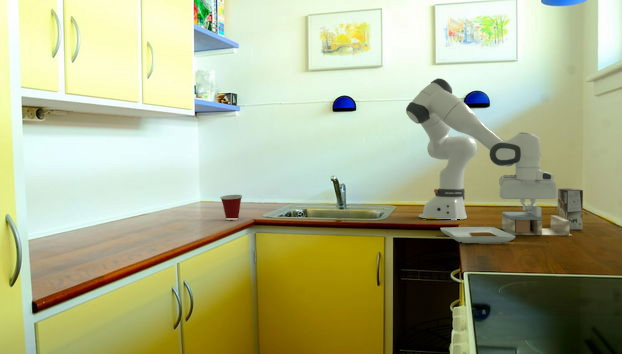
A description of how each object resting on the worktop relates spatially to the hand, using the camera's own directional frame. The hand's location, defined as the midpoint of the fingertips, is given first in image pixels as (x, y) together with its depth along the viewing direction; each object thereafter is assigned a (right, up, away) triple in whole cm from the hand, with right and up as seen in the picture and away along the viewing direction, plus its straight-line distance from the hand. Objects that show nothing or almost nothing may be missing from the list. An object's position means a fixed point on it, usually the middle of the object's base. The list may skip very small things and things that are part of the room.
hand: (527, 210), depth 186 cm
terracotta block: (-2, -8, +1) cm, 8 cm away
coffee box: (+23, -8, +13) cm, 28 cm away
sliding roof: (-2, -2, +1) cm, 3 cm away
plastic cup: (-123, -8, +51) cm, 133 cm away
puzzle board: (+3, -9, +1) cm, 10 cm away
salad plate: (-23, -11, -8) cm, 26 cm away
